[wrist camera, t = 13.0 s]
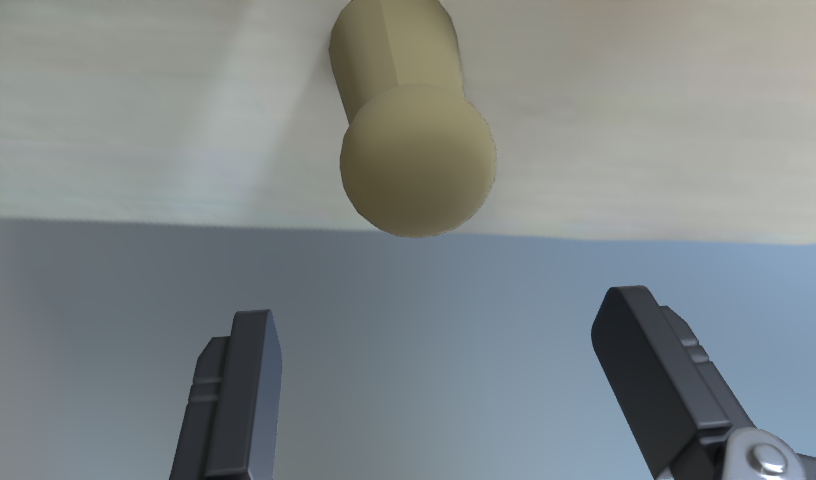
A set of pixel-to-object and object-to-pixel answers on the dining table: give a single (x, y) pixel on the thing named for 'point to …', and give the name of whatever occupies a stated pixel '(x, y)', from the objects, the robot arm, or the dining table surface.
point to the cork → (408, 119)
